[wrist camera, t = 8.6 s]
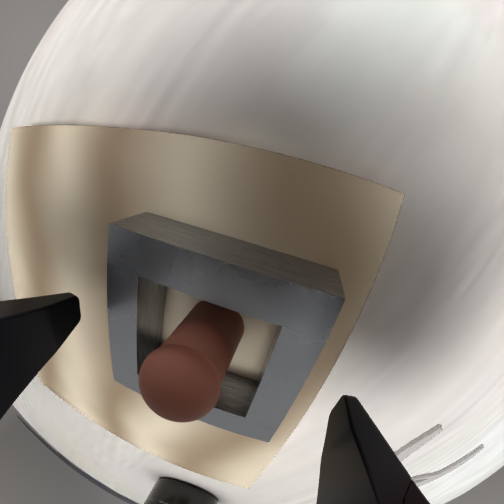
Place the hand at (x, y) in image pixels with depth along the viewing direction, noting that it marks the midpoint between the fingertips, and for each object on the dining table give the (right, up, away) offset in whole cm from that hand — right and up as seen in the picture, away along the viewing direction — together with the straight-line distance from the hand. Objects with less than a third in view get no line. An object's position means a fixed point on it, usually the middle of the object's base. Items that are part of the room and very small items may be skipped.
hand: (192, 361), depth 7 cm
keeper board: (-5, -1, +5) cm, 7 cm away
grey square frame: (0, +1, +2) cm, 2 cm away
